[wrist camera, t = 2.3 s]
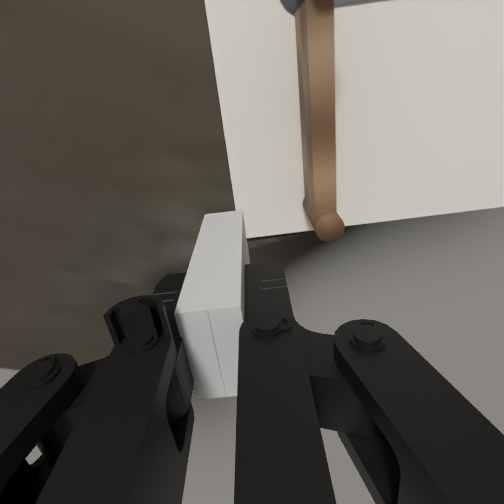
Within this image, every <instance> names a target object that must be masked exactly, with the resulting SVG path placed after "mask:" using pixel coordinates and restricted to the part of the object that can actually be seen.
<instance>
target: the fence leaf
mask: <svg viewBox="0 0 504 504" xmlns="http://www.w3.org/2000/svg"><path fill="white" fill-rule="evenodd" d="M295 29H296V48H297V66H298V84H299V102H300V121H301V139H302V157H303V175H304V194H305V197H304V199H303V203H302V205H303V208H304V210H305V212H306V214H307V216H308V218H309V220H310V222H311V224H312V226H313V228H314V230H315V232H316V234H317V236H318V237H319V239H321V240H323V241H325V242H332V241H335V240H337V239H339V238H340V237H341V236H342V234H343V233H344V229H345V225H344V222H343V220H342V219H341V218H340V216H339V215H338V213H337V204H336V126H335V48H334V0H305V1H304V2H303V3H302V5H301V6H300V7H299V9H298V10H297V11H296V13H295Z"/></svg>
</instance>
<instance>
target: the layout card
mask: <svg viewBox="0 0 504 504" xmlns="http://www.w3.org/2000/svg"><path fill="white" fill-rule="evenodd" d="M304 1H305V0H205V6H206V13H207V20H208V26H209V33H210V40H211V47H212V53H213V60H214V67H215V74H216V80H217V87H218V94H219V100H220V107H221V114H222V121H223V127H224V134H225V141H226V148H227V154H228V161H229V168H230V175H231V181H232V188H233V195H234V201H235V208H236V211H238V210H243V217H244V224H245V231H246V238H253V237H262V236H270V235H278V234H286V233H294V232H302V231H311V230H314V228H313V226H312V224H311V222H310V220H309V218H308V216H307V214H306V212H305V210H304V208H303V205H302V203H303V199H304V197H305V194H304V175H303V157H302V139H301V121H300V102H299V84H298V66H297V48H296V29H295V13H296V11H297V10H298V9H299V7H300V6H301V5H302V3H303V2H304ZM334 48H335V126H336V204H337V213H338V215H339V216H340V218H341V219H342V220H343V222H344V225H345V226H351V225H359V224H368V223H375V222H384V221H392V220H400V219H408V218H416V217H425V216H433V215H441V214H449V213H457V212H466V211H473V210H481V209H489V208H498V207H504V0H334Z"/></svg>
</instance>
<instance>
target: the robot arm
mask: <svg viewBox="0 0 504 504" xmlns="http://www.w3.org/2000/svg"><path fill="white" fill-rule="evenodd" d="M104 319H105V321H106V324H107V327H108V329H109V332H110V334H111V337H112V340H113V342H114V347H113V349H112V351H111V353H110V355H109V356H107V357H105V358H102V359H99V360H96V361H93V362H90V363H87V364H84V365H81V366H78V365H77V363H76V361H75V359H74V358H73V357H72V356H71V355H68V354H64V353H62V354H52V355H49V356H46V357H42V358H40V359H38V360H36V361H34V362H32V363H30V364H28V365H27V366H26V367H24V368H23V369H22V370H20V371H19V372H18V373H17V374H16V375H14V377H12V378H11V379H10V380H9V381H8V382H7V383H6V384H5V385H4V386H3V387H2V388H1V389H0V504H181V503H182V497H183V490H184V483H185V477H186V470H187V463H188V457H189V450H190V443H191V437H192V430H193V423H194V411H193V407H192V404H191V396H192V391H193V386H194V390H195V394H196V397H197V400H200V399H210V398H220V397H229V396H237V418H236V419H237V420H236V454H235V488H234V491H235V492H234V504H336V500H335V495H334V491H333V486H332V481H331V477H330V472H329V468H328V463H327V458H326V454H325V449H324V444H323V440H322V435H321V430H320V428H325V429H329V430H334V431H337V432H338V435H339V437H340V439H341V441H342V443H343V445H344V447H345V448H346V450H347V452H348V454H349V456H350V458H351V459H352V461H353V463H354V465H355V466H356V468H357V470H358V472H359V474H360V476H361V478H362V479H363V481H364V483H365V485H366V487H367V489H368V490H369V492H370V494H371V496H372V498H373V500H374V501H375V503H376V504H504V435H503V434H502V433H501V432H500V431H499V430H498V429H497V428H496V427H495V426H494V425H493V424H492V423H491V422H490V421H489V420H488V419H486V418H485V417H484V416H483V415H482V414H481V413H480V412H479V411H478V410H477V409H476V408H475V407H474V406H473V405H472V404H471V403H470V402H469V401H468V400H467V399H466V398H465V397H464V396H463V395H462V394H461V393H460V392H459V391H457V389H455V388H454V387H453V386H452V385H451V384H450V383H449V382H448V381H447V380H446V379H445V378H444V377H443V376H442V375H441V374H440V373H439V372H438V371H437V370H436V369H435V368H434V367H433V366H432V365H430V363H428V361H426V360H425V359H424V358H423V357H422V356H421V355H420V354H419V353H418V352H417V351H416V350H415V349H414V348H413V347H412V346H411V345H410V344H409V343H408V342H407V341H406V340H404V338H402V336H400V335H399V334H398V333H397V332H396V331H395V330H394V329H392V328H391V327H389V326H388V325H386V324H383V323H381V322H378V321H375V320H365V319H360V320H352V321H349V322H347V323H345V324H343V325H341V326H340V327H339V328H338V329H337V330H336V331H335V335H328V334H321V333H316V332H312V331H310V330H307V329H305V328H304V327H302V326H300V325H299V324H298V323H297V322H296V320H295V318H294V316H293V312H292V307H291V302H290V297H289V292H288V288H287V284H286V279H285V273H284V269H283V267H282V266H280V265H279V264H278V263H277V262H276V261H272V262H263V263H255V264H250V260H249V253H248V245H247V238H246V231H245V224H244V217H243V210H238V211H230V212H221V213H213V214H205V216H204V219H203V222H202V226H201V229H200V232H199V235H198V238H197V242H196V245H195V248H194V251H193V254H192V258H191V261H190V264H189V267H188V270H187V272H186V273H178V274H169V275H166V276H165V277H164V278H163V279H162V280H161V281H160V282H159V283H157V285H156V288H155V290H154V292H153V295H152V296H137V297H132V298H129V299H126V300H124V301H122V302H119V303H118V304H116V305H115V306H113V307H111V308H110V309H109V310H108V311H107V312H106V313H105V314H104ZM36 445H37V446H38V448H39V450H40V451H41V453H42V455H41V456H40V457H39V458H38V459H37V460H36V461H35V462H34V463H33V464H31V465H29V464H28V462H27V461H26V459H25V458H26V457H27V456H28V455H29V453H30V452H31V451H32V449H33V448H34V447H35V446H36Z"/></svg>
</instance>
